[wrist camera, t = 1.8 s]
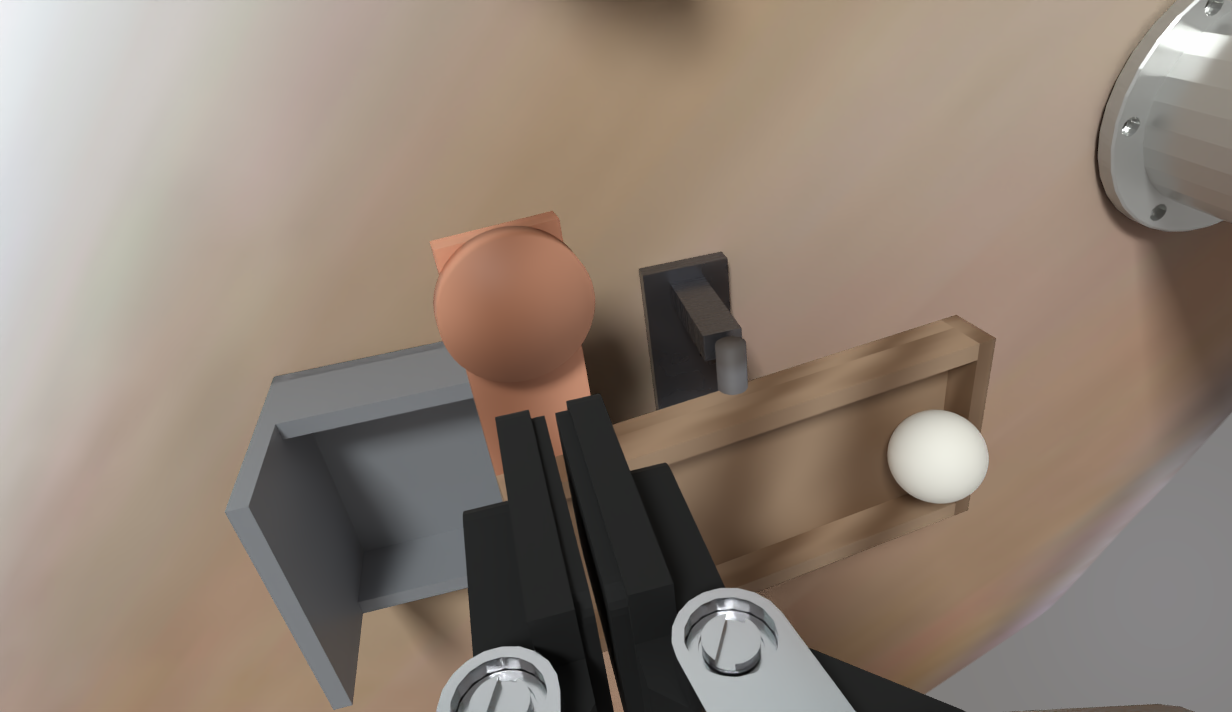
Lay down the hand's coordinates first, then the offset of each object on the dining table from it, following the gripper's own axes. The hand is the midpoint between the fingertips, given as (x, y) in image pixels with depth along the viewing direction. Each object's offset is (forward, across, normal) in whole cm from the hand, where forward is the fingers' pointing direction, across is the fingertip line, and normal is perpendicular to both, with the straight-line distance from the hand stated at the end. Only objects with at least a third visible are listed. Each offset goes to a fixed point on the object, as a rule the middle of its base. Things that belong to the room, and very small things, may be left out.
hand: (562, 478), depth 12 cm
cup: (+22, +5, +15) cm, 27 cm away
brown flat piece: (+15, -8, +11) cm, 20 cm away
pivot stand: (+21, -8, +14) cm, 27 cm away
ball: (+12, -16, +14) cm, 25 cm away
